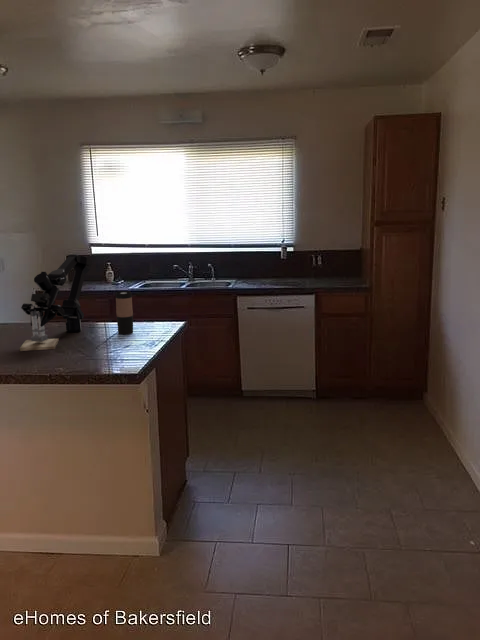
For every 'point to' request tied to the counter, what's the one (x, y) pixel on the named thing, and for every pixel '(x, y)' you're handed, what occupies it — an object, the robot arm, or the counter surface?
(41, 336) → the two-prong grey stand
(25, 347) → the plate
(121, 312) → the travel mug
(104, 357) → the counter surface
